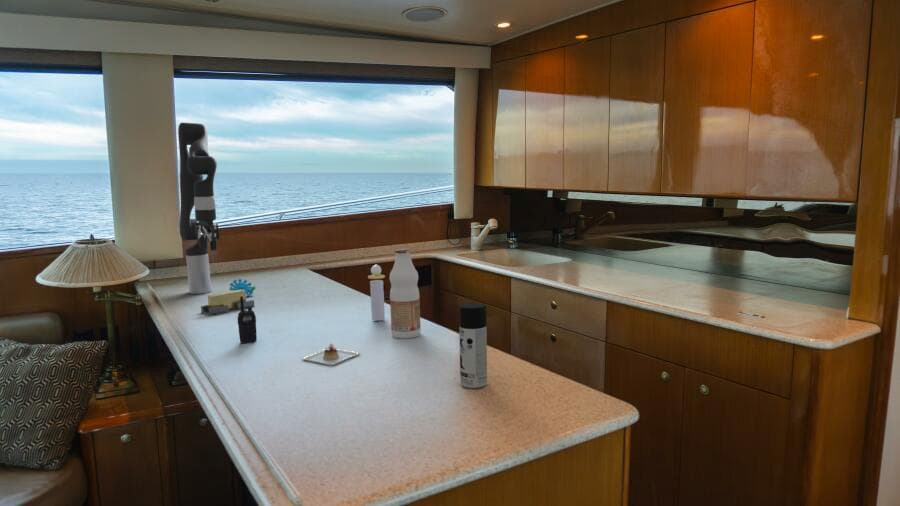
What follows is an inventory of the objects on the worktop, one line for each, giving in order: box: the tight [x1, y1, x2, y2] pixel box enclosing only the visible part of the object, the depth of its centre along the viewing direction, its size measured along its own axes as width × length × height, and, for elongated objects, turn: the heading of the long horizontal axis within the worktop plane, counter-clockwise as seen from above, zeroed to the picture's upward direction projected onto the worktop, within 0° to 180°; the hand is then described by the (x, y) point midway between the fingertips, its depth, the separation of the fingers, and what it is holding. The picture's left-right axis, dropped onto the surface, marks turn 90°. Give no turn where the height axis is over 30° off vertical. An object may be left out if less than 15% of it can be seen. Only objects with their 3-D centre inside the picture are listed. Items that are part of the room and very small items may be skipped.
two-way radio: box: [237, 296, 257, 344], centre depth 189 cm, size 6×4×15 cm
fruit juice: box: [389, 247, 422, 340], centre depth 191 cm, size 9×9×28 cm
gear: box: [229, 278, 257, 298], centre depth 259 cm, size 11×6×10 cm
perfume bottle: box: [367, 264, 386, 321], centre depth 211 cm, size 6×6×20 cm
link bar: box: [207, 290, 247, 310], centre depth 235 cm, size 3×14×6 cm, turn 139°
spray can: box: [458, 302, 488, 390], centre depth 147 cm, size 7×7×20 cm
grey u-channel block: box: [200, 299, 255, 316], centre depth 235 cm, size 8×18×2 cm, turn 139°
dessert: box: [300, 342, 361, 367], centre depth 172 cm, size 12×12×5 cm
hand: (208, 249), depth 236 cm, fingers open, 8 cm apart
